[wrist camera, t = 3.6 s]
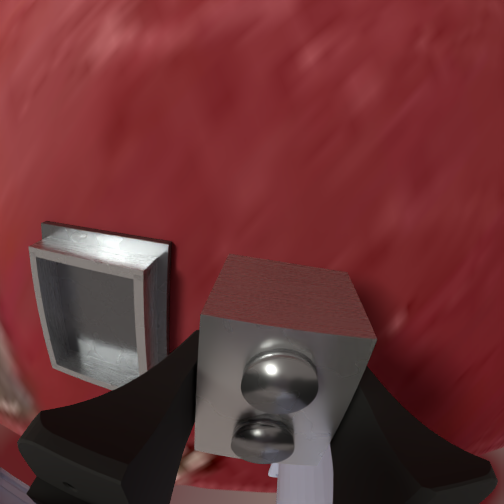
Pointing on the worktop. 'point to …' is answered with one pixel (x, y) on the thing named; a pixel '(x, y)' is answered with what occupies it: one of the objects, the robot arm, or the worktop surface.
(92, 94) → the worktop surface
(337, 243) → the worktop surface
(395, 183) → the worktop surface
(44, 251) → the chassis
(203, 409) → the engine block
